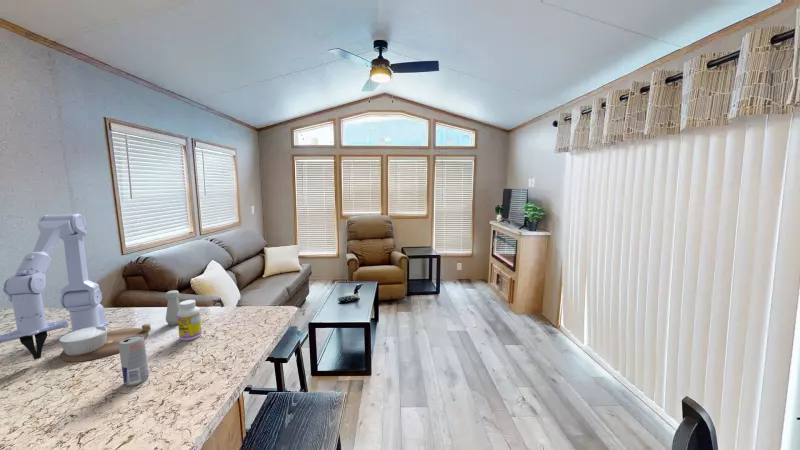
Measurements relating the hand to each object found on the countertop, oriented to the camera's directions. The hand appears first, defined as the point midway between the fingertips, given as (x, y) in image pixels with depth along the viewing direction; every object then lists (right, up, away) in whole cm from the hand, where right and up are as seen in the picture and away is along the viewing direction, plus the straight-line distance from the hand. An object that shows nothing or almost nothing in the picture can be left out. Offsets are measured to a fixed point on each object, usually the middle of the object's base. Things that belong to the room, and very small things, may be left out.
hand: (37, 357), depth 96 cm
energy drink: (+37, -3, -8) cm, 38 cm away
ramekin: (+7, -1, +8) cm, 11 cm away
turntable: (+10, 0, +12) cm, 16 cm away
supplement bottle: (+35, 0, +17) cm, 39 cm away
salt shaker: (+22, +2, +28) cm, 35 cm away
